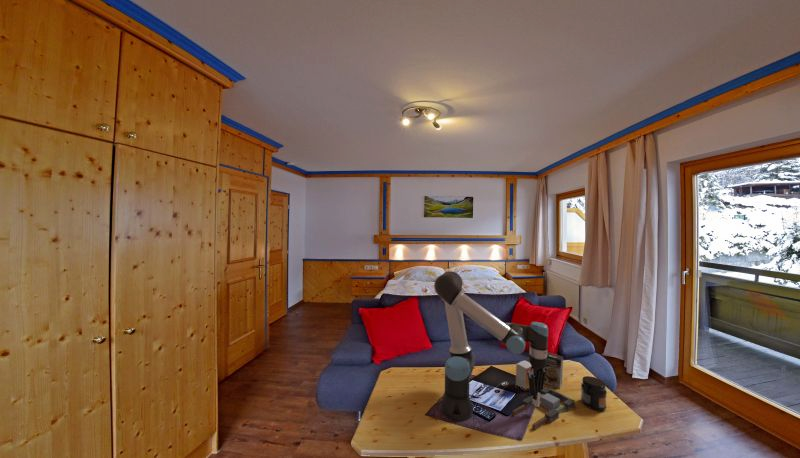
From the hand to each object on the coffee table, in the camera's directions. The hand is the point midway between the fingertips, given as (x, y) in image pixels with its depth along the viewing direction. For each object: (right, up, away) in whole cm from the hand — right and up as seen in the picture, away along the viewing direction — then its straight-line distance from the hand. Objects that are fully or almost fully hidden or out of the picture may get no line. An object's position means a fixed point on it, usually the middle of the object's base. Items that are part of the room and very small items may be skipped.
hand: (535, 405), depth 131 cm
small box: (+4, -4, +21) cm, 22 cm away
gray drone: (+5, -4, +3) cm, 7 cm away
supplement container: (+32, -5, +7) cm, 34 cm away
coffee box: (+22, -4, +26) cm, 34 cm away
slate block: (+10, -4, +5) cm, 12 cm away
